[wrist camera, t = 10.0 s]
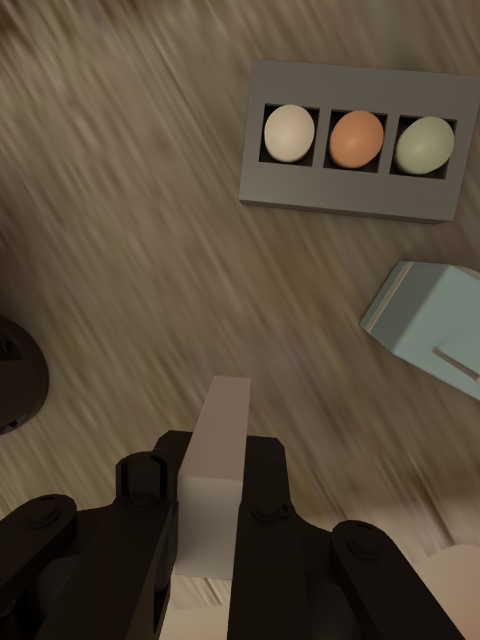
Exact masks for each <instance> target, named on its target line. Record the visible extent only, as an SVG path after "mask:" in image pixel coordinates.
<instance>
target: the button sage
mask: <svg viewBox="0 0 480 640" xmlns="http://www.w3.org/2000/svg"><path fill="white" fill-rule="evenodd" d="M453 147H454V134H453V131H452V129H451V127H450V126H449V124H448V123H447V122H445V121H444V120H442V119H440V118H437V117H424V118H421V119H419V120H417V121H415V122H414V123H413V124H412V125H410V126H409V127H408V128H407V129H406V130H405V131H404V132H403V133H402V134H400V135H399V137H398V138H397V139H396V141H395V144H394V150H393V155H392V160H393V163H394V166H395V167H396V169H397V170H398V171H399V172H400V173H402V174H403V175H406V176H411V177H418V176H422V175H424V174H426V173H428V172H430V171H432V170H434V169H436V168H438V167H440V166H441V165H443V164H444V163H445V162H446V161H447V160H448V158H449V157H450V155H451V153H452V151H453Z"/></svg>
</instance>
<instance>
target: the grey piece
mask: <svg viewBox="0 0 480 640" xmlns="http://www.w3.org/2000/svg"><path fill="white" fill-rule="evenodd" d="M479 104H480V76H471V75H458V74H445V73H433V72H420V71H407V70H394V69H381V68H368V67H356V66H343V65H330V64H317V63H304V62H292V61H279V60H266V59H253V62H252V72H251V82H250V92H249V101H248V111H247V121H246V130H245V140H244V150H243V159H242V169H241V179H240V189H239V198H238V199H239V201H240V202H241V204H243V205H252V206H262V207H272V208H281V209H291V210H301V211H310V212H320V213H329V214H339V215H349V216H358V217H368V218H378V219H387V220H397V221H406V222H416V223H426V224H440V223H446V222H452V221H454V216H455V212H456V207H457V203H458V198H459V194H460V189H461V185H462V180H463V176H464V171H465V167H466V162H467V158H468V153H469V149H470V144H471V140H472V135H473V131H474V126H475V122H476V117H477V113H478V108H479ZM265 105H267V106H279V107H282V106H285V105H297V106H300V107H302V108H303V109H314V110H320V111H319V118H318V125H317V132H316V139H315V146H314V154H313V161H312V167H307V166H297V165H286V164H276V163H266V162H259V154H260V145H261V136H262V127H263V119H264V110H265ZM331 111H337V112H349V113H350V112H353V111H367V112H369V113H371V114H373V115H384V116H386V122H385V128H384V133H383V143H382V146H381V150H380V156H379V162H378V167H377V173H370V172H359V171H349V170H339V169H328V168H323V164H324V157H325V150H326V144H327V137H328V130H329V123H330V116H331ZM399 117H407V118H418V119H421V118H424V117H437V118H440V119H442V120H444V121H447V123H448V124H449V126H450V127H451V129H452V131H453V134H454V147H453V151H452V153H451V155H450V157H449V158H448V160H447V161H446V162H445V163H444V164H443V165H441V166H440V167H438V168H437V173H436V178H435V179H432V178H422V177H411V176H401V175H391V174H389V171H390V166H391V160H392V155H393V150H394V144H395V139H396V133H397V128H398V122H399Z"/></svg>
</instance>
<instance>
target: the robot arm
mask: <svg viewBox="0 0 480 640" xmlns="http://www.w3.org/2000/svg"><path fill="white" fill-rule="evenodd" d="M250 383H251V378H241V377H228V376H215V375H214V378H213V381H212V383H211V386H210V389H209V391H208V394H207V397H206V400H205V402H204V405H203V408H202V410H201V413H200V416H199V419H198V421H197V424H196V427H195V430H194V432H186V431H174V430H169V431H168V432H167V433H165V434H164V435H163V436H161V437H160V438H159V439H158V441H157V443H156V445H155V447H154V449H153V451H148V452H138V453H134V454H131V455H129V456H127V457H125V458H123V459H121V460H120V461H119V462H118V463H117V464H116V498H115V500H114V501H113V503H112V504H110V505H108V506H105V507H100V508H95V509H88V510H81V511H77V506H76V504H75V502H74V500H73V499H72V498H70V497H68V496H66V495H60V494H51V495H43V496H40V497H37V498H34V499H32V500H29V501H28V502H26V503H24V504H23V505H21V506H19V507H18V508H17V509H15V510H14V511H13V512H11V513H10V514H9V515H7V516H6V517H5V518H3V519H2V520H1V521H0V640H159V637H160V633H161V629H162V625H163V621H164V617H165V614H166V610H167V606H168V602H169V598H170V586H171V574H172V571H173V567H174V563H175V575H184V576H194V577H204V578H214V579H223V580H232V587H231V598H230V609H229V620H228V631H227V640H465V638H464V637H463V636H462V634H461V633H460V632H459V630H458V629H457V627H456V626H455V625H454V623H453V622H452V621H451V619H450V618H449V616H448V615H447V614H446V613H445V611H444V610H443V608H442V607H441V606H440V604H439V603H438V601H437V600H436V599H435V597H434V596H433V595H432V593H431V592H430V591H429V589H428V588H427V587H426V585H425V584H424V582H423V581H422V580H421V579H420V577H419V576H418V574H417V573H416V572H415V570H414V569H413V568H412V566H411V565H410V563H409V562H408V561H407V559H406V558H405V557H404V555H403V554H402V552H401V551H400V550H399V548H398V547H397V546H396V544H395V543H394V542H393V540H392V539H391V538H390V537H389V536H388V535H387V534H386V533H385V532H384V531H382V530H380V529H379V528H377V527H375V526H374V525H372V524H369V523H366V522H363V521H357V520H347V521H343V522H340V523H338V524H337V525H336V526H335V527H334V528H333V531H332V532H329V531H327V530H324V529H321V528H318V527H316V526H314V525H311V524H309V523H308V522H306V521H305V520H303V519H302V518H301V517H300V516H299V515H298V514H297V513H296V511H295V508H294V506H293V504H292V503H291V499H290V491H289V482H288V474H287V465H286V457H285V448H284V446H283V445H282V444H281V442H280V441H279V440H278V439H277V438H271V437H259V436H247V427H248V412H249V398H250ZM47 388H48V373H47V368H46V364H45V361H44V358H43V356H42V353H41V351H40V350H39V348H38V346H37V345H36V343H35V342H34V340H33V339H32V338H31V337H30V336H29V335H28V334H27V333H26V332H25V331H24V330H23V329H22V328H21V327H19V326H18V325H17V324H15V323H14V322H12V321H10V320H8V319H6V318H4V317H1V316H0V436H1V435H4V434H7V433H9V432H11V431H13V430H15V429H17V428H18V427H20V426H21V425H23V424H24V423H25V422H27V421H28V420H30V419H31V418H32V417H33V416H34V415H35V414H36V413H37V412H38V411H39V409H40V408H41V406H42V404H43V402H44V400H45V397H46V394H47Z"/></svg>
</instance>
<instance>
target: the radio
mask: <svg viewBox="0 0 480 640" xmlns="http://www.w3.org/2000/svg"><path fill="white" fill-rule="evenodd" d="M360 326H361V327H362V328H363V329H365V330H366V331H367V332H368V333H369V334H370V335H371V336H373V337H374V338H375V339H376V340H377V341H379V342H380V343H381V344H382V345H383V346H384V347H386V348H387V349H388V350H389V351H390V352H391V353H393V354H394V355H396V356H398V357H400V358H402V359H403V360H405V361H407V362H409V363H411V364H413V365H414V366H416V367H418V368H420V369H422V370H424V371H426V372H427V373H429V374H431V375H433V376H435V377H437V378H439V379H440V380H442V381H444V382H446V383H448V384H450V385H451V386H453V387H455V388H457V389H459V390H461V391H463V392H464V393H466V394H468V395H470V396H472V397H474V398H475V399H477V400H479V401H480V273H478V272H476V271H474V270H472V269H469V268H467V267H465V266H463V265H456V266H453V265H450V264H439V263H426V262H412V261H399V262H398V263H397V264H396V266H395V267H394V269H393V271H392V272H391V274H390V275H389V277H388V279H387V280H386V282H385V283H384V285H383V287H382V288H381V290H380V291H379V293H378V295H377V296H376V298H375V299H374V301H373V302H372V304H371V306H370V307H369V309H368V310H367V312H366V314H365V315H364V317H363V319H362V320H361V322H360Z"/></svg>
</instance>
